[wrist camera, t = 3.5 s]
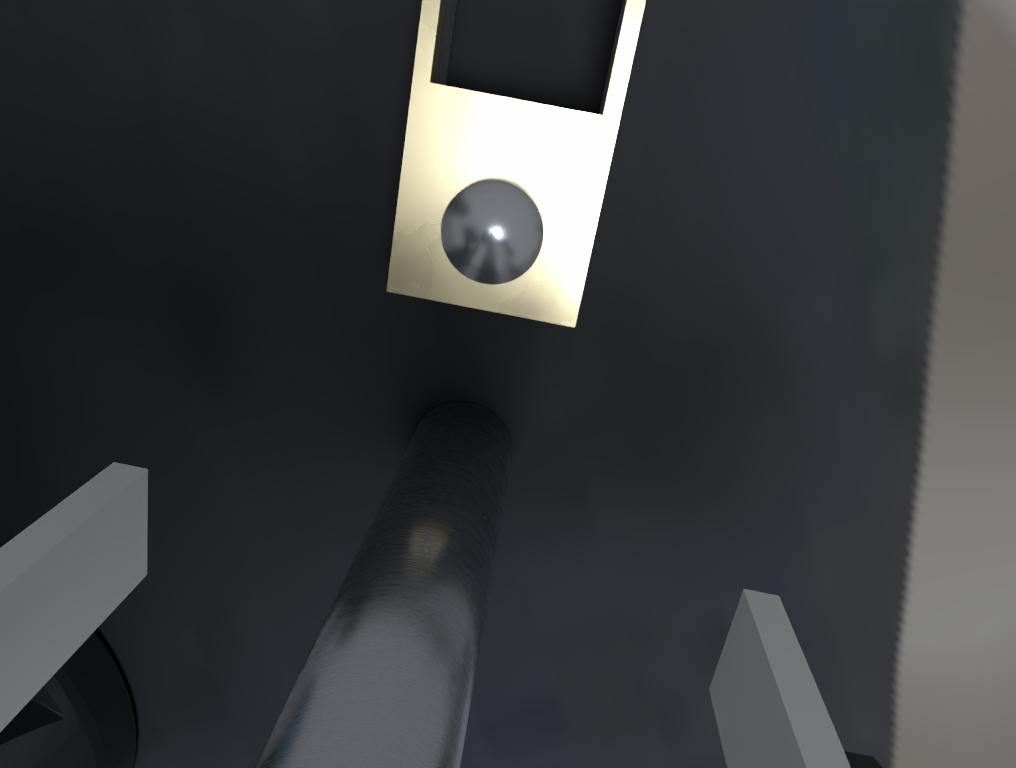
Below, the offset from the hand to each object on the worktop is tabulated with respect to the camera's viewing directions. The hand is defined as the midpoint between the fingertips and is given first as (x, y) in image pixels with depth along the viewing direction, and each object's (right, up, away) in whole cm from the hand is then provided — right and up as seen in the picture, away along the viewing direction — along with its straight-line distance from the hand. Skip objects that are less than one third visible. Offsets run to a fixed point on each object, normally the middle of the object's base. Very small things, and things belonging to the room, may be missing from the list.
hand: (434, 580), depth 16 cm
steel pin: (0, +2, +6) cm, 7 cm away
